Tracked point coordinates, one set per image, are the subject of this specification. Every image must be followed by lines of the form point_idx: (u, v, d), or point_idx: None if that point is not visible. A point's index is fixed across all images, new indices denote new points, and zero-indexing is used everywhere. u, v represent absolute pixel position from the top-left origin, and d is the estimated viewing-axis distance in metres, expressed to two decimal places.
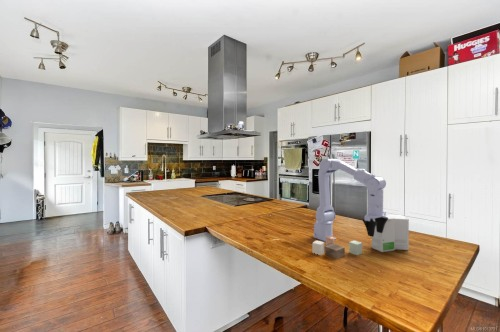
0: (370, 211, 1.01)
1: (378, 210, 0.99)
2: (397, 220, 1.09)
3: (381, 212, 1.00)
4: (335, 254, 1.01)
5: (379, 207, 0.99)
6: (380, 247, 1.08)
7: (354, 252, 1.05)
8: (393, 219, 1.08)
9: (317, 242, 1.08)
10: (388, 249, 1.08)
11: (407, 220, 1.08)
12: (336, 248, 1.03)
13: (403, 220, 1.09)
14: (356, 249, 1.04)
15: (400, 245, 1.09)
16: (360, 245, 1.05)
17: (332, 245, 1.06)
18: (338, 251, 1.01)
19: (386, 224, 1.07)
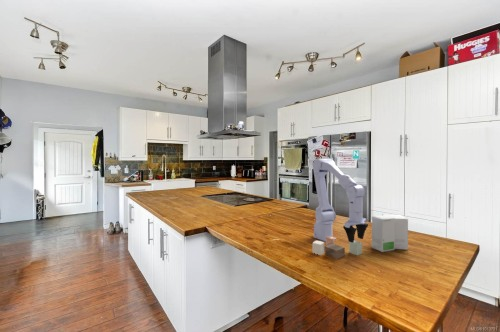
0: (350, 218, 1.05)
1: (358, 217, 1.03)
2: (397, 220, 1.10)
3: (360, 219, 1.04)
4: (335, 254, 1.01)
5: (359, 214, 1.03)
6: (380, 247, 1.08)
7: (354, 252, 1.05)
8: (393, 219, 1.09)
9: (317, 242, 1.08)
10: (388, 249, 1.08)
11: (406, 220, 1.09)
12: (336, 248, 1.03)
13: (402, 220, 1.09)
14: (356, 249, 1.04)
15: (399, 244, 1.10)
16: (360, 245, 1.05)
17: (332, 245, 1.06)
18: (338, 251, 1.01)
19: (386, 224, 1.07)
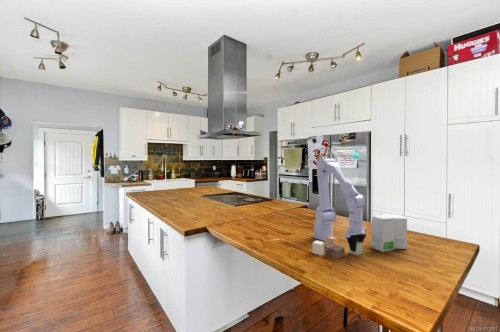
0: (350, 228, 1.06)
1: (358, 227, 1.04)
2: (396, 219, 1.10)
3: (360, 229, 1.04)
4: (336, 254, 1.01)
5: (359, 224, 1.04)
6: (380, 247, 1.08)
7: (354, 252, 1.05)
8: (392, 218, 1.09)
9: (317, 242, 1.08)
10: (388, 249, 1.08)
11: (405, 219, 1.10)
12: (336, 248, 1.03)
13: (402, 219, 1.10)
14: (356, 249, 1.04)
15: (399, 244, 1.11)
16: (360, 245, 1.05)
17: (332, 245, 1.06)
18: (338, 251, 1.01)
19: (386, 224, 1.08)
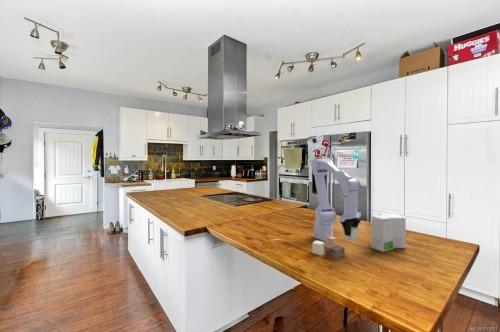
0: (345, 212, 1.05)
1: (353, 211, 1.03)
2: (395, 219, 1.11)
3: (355, 213, 1.03)
4: (336, 254, 1.01)
5: (353, 208, 1.03)
6: (381, 247, 1.08)
7: (349, 237, 1.04)
8: (392, 218, 1.10)
9: (317, 242, 1.08)
10: (388, 248, 1.09)
11: (404, 219, 1.11)
12: (336, 248, 1.03)
13: (400, 219, 1.11)
14: (351, 234, 1.03)
15: (398, 243, 1.11)
16: (355, 230, 1.04)
17: (332, 245, 1.06)
18: (338, 251, 1.01)
19: (386, 224, 1.08)
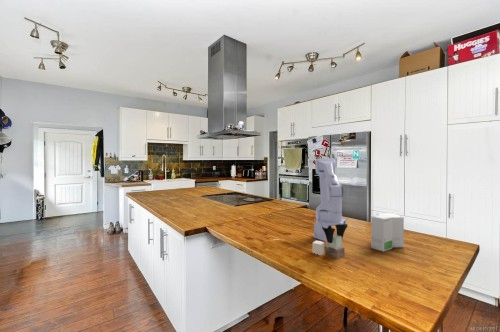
0: (329, 218, 1.03)
1: (337, 217, 1.01)
2: (394, 219, 1.12)
3: (339, 219, 1.01)
4: (336, 254, 1.01)
5: (337, 214, 1.01)
6: (381, 247, 1.08)
7: (333, 246, 1.03)
8: (391, 218, 1.10)
9: (317, 242, 1.08)
10: (388, 248, 1.09)
11: (402, 218, 1.12)
12: None
13: (399, 218, 1.12)
14: (335, 243, 1.02)
15: (396, 242, 1.12)
16: (339, 239, 1.03)
17: None
18: (338, 251, 1.01)
19: (386, 223, 1.08)
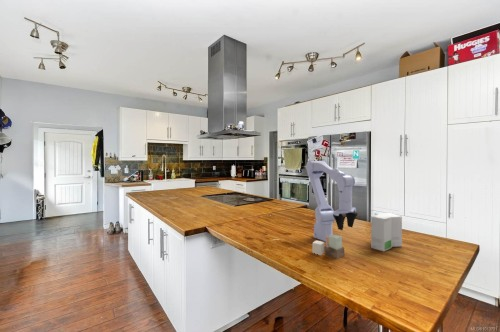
0: (340, 206, 1.10)
1: (347, 205, 1.07)
2: (392, 218, 1.13)
3: (350, 207, 1.08)
4: (336, 254, 1.01)
5: (348, 202, 1.07)
6: (382, 247, 1.08)
7: (333, 246, 1.03)
8: (390, 217, 1.11)
9: (317, 242, 1.08)
10: (387, 248, 1.10)
11: (400, 217, 1.13)
12: None
13: (397, 218, 1.13)
14: (335, 243, 1.02)
15: (395, 242, 1.13)
16: (340, 239, 1.03)
17: None
18: (338, 251, 1.01)
19: (386, 223, 1.09)
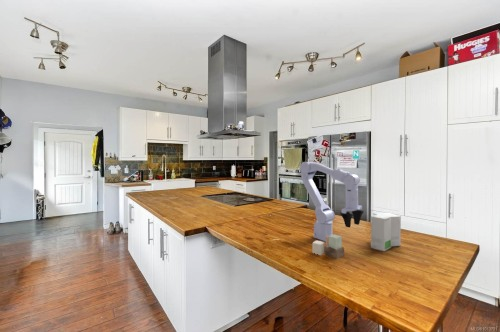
0: (347, 205, 1.13)
1: (354, 203, 1.11)
2: (392, 218, 1.13)
3: (356, 205, 1.12)
4: (336, 254, 1.01)
5: (354, 201, 1.11)
6: (382, 247, 1.08)
7: (333, 246, 1.03)
8: (390, 217, 1.11)
9: (317, 242, 1.08)
10: (387, 247, 1.10)
11: (399, 217, 1.14)
12: None
13: (396, 217, 1.14)
14: (335, 243, 1.02)
15: (394, 241, 1.14)
16: (339, 239, 1.03)
17: None
18: (338, 251, 1.01)
19: (386, 223, 1.09)
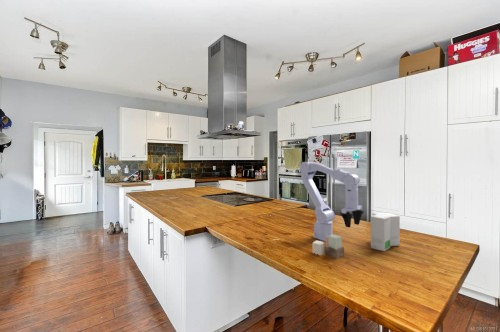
0: (347, 205, 1.13)
1: (354, 203, 1.11)
2: (391, 218, 1.14)
3: (356, 205, 1.12)
4: (336, 254, 1.01)
5: (354, 201, 1.11)
6: (382, 247, 1.08)
7: (333, 246, 1.03)
8: (389, 217, 1.12)
9: (317, 242, 1.08)
10: (387, 247, 1.10)
11: (398, 217, 1.14)
12: None
13: (395, 217, 1.14)
14: (334, 243, 1.02)
15: (393, 241, 1.14)
16: (339, 239, 1.03)
17: None
18: (338, 251, 1.01)
19: (386, 223, 1.09)
